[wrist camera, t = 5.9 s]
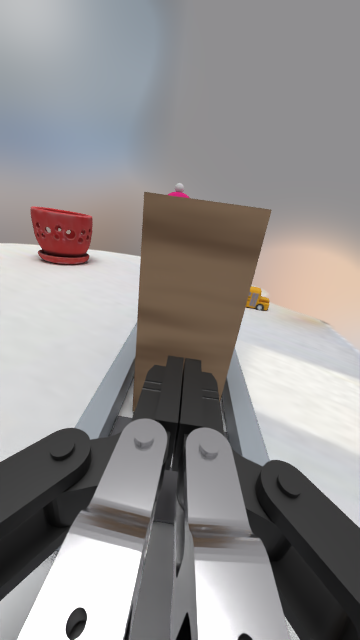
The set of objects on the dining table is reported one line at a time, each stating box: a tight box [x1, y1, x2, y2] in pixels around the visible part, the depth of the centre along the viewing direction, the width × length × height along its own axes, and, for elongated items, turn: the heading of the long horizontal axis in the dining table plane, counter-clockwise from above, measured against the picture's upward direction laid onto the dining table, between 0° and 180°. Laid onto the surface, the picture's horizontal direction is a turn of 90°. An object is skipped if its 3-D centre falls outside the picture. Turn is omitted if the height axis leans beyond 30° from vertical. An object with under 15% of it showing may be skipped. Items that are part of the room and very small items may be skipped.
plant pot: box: [31, 207, 92, 264], centre depth 55 cm, size 13×13×12 cm
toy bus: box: [246, 286, 269, 311], centre depth 43 cm, size 3×10×4 cm, turn 78°
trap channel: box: [55, 323, 270, 551], centre depth 22 cm, size 29×11×3 cm, turn 176°
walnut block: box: [133, 192, 271, 412], centre depth 17 cm, size 8×6×14 cm
